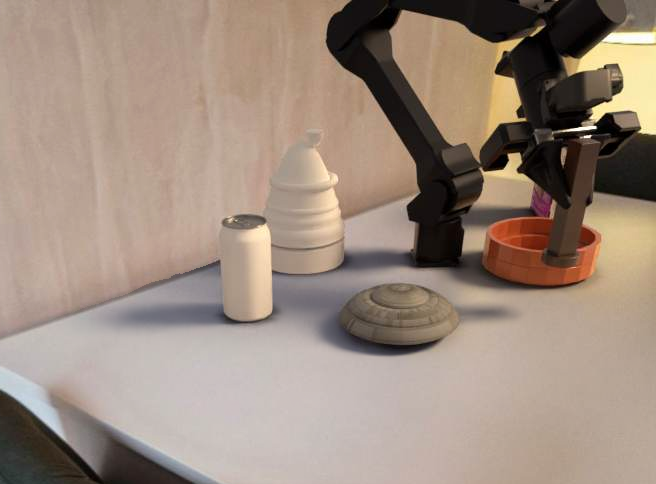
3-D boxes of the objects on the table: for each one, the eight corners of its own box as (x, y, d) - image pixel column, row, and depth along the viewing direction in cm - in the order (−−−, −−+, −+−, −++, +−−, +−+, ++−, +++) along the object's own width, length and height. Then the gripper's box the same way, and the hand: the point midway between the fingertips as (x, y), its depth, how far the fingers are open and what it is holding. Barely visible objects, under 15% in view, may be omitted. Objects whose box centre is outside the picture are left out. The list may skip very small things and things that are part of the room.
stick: (533, 258, 97) (556, 138, 88) (563, 253, 98) (589, 134, 89) (554, 270, 93) (580, 146, 85) (584, 265, 94) (613, 142, 86)
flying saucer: (317, 317, 99) (318, 276, 96) (415, 296, 104) (419, 256, 101) (376, 364, 89) (379, 320, 85) (482, 338, 93) (489, 295, 90)
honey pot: (351, 247, 120) (356, 122, 109) (334, 277, 111) (337, 142, 100) (273, 242, 123) (270, 119, 112) (249, 270, 114) (243, 139, 103)
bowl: (496, 290, 105) (501, 254, 102) (471, 251, 117) (475, 218, 114) (609, 287, 105) (618, 250, 102) (572, 248, 117) (579, 215, 114)
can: (236, 327, 98) (231, 232, 90) (216, 309, 102) (209, 218, 95) (281, 316, 100) (279, 223, 93) (259, 300, 105) (255, 209, 97)
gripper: (508, 41, 82) (547, 176, 80) (654, 30, 86) (693, 158, 84) (462, 109, 93) (496, 229, 91) (593, 97, 97) (627, 211, 95)
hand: (578, 206), depth 90 cm, fingers closed on stick, 2 cm apart
